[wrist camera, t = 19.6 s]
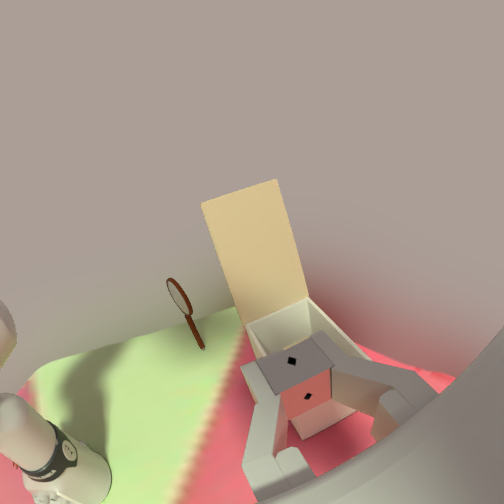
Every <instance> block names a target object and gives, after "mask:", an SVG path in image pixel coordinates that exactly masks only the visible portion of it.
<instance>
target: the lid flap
mask: <svg viewBox="0 0 504 504" xmlns="http://www.w3.org/2000/svg"><path fill="white" fill-rule="evenodd" d="M200 205H201V208H202V211H203V214H204V217H205V220H206V223H207V226H208V229H209V232H210V235H211V238H212V241H213V244H214V247H215V250H216V252H217V255H218V258H219V261H220V264H221V267H222V270H223V272H224V275H225V278H226V281H227V284H228V286H229V289H230V292H231V295H232V298H233V300H234V303H235V306H236V308H237V311H238V314H239V317H240V319H241V322H242V324H243V325H244V324H246V323H249V322H251V321H254V320H256V319H258V318H261V317H263V316H265V315H268V314H270V313H272V312H275V311H277V310H279V309H281V308H284V307H286V306H288V305H290V304H293V303H295V302H297V301H299V300H302V299H304V298H306V297H308V296H309V294H308V290H307V286H306V282H305V278H304V274H303V270H302V267H301V263H300V259H299V256H298V252H297V248H296V245H295V241H294V237H293V234H292V230H291V227H290V223H289V220H288V216H287V213H286V209H285V206H284V202H283V199H282V196H281V192H280V189H279V186H278V182H277V179H274V180H270V181H267V182H264V183H261V184H258V185H254V186H251V187H248V188H245V189H242V190H239V191H235V192H233V193H229V194H226V195H223V196H220V197H217V198H214V199H211V200H209V201H206V202H203V203H200Z"/></svg>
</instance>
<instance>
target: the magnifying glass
mask: <svg viewBox="0 0 504 504" xmlns="http://www.w3.org/2000/svg"><path fill="white" fill-rule="evenodd" d="M166 283H167V287H168V290H169V292H170V294H171V296H172V298H173V300H174V301H175V303H176V304H177V306H178V307H179V308H180V310H181V311H182V312H183V313H184V314H185V318H186V320H187V322H188V324H189V326H190V329H191V331H192V333H193V335H194V337H195V339H196V341H197V343H198V345H199V347H200V349H202V350H205V348H204V347H205V346H204V344H203V342H202V339H201V337H200V335H199V333H198V331H197V329H196V327H195V324H194V322H193V320H192V318H191V316H190V315H192V313H193V309H192V306H191V303H190V301H189V299H188V297H187V295H186V294H185V292H184V291H183V290H182V288H181V286H180V285H179V284H178V283H177V282H176V281H175V280H174V279H173V278H168V279H167V281H166Z"/></svg>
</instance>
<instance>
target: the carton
mask: <svg viewBox="0 0 504 504" xmlns="http://www.w3.org/2000/svg"><path fill="white" fill-rule="evenodd" d="M245 327H246V330H247V333H248V336H249V339H250V342H251V345H252V348H253V351H254V354H255V357H256V360H257V359H259V358H262V357H264V356H267V355H269V354H272V353H274V352H277V351H279V350H281V349H282V348H285V347H287V346H289V345H291V344H293V343H295V342H297V341H299V340H301V339H303V338H305V337H308V336H310V335H312V334H314V333H316V332H318V331H320V330H322V331H324V332H325V333H326V334H327V335H328V336H329V337H330V338H331V339H332V340H333V342H334V343H335V344H336V345H337V346H338V347H339V348H340V349H341V350H342V351H343V352H344V353H345V354H346V355H347V356H348V357H349V358H350V357H352V356H354V357H358V358H362V359H365V360H369V361H372V360H371V359H370V358H369V357H368V356H367V355H366V354H365V353H364V352H363V351H362V350H361V349H360V348H359V347H358V346H357V345H356V344H355V343H354V342H353V341H352V340H351V339H350V338H349V337H348V336H347V335H346V334H345V333H344V332H343V331H342V330H341V329H340V328H339V327H338V326H337V325H336V324H335V323H334V322H333V321H332V320H331V319H330V318H329V317H328V316H327V315H326V314H325V313H324V312H323V311H322V310H321V309H320V308H319V307H318V306H317V305H316V304H315V303H314V302H313V301H312V300H311V299H310V298H309V297H306V298H304V299H302V300H300V301H298V302H295V303H293V304H291V305H289V306H287V307H284V308H282V309H280V310H277V311H275V312H273V313H271V314H268V315H266V316H264V317H261V318H259V319H257V320H254V321H252V322H249V323H247V324H245ZM356 411H357V410H355V409H352V408H350V407H348V406H345V405H343V404H340V403H338V402H336V401H333V400H332V399H330V400H328V401H326V402H324V403H322V404H320V405H318V406H316V407H314V408H312V409H310V410H308V411H306V412H305V413H303V414H301V415H299V416H297V417H295V418H293V419H291V420H290V421H291V422H292V424H293V426H294V427H295V429H296V431H297V432H298V434H299V436H300V437H301V439H302V440H305V439H307V438H309V437H311V436H313V435H315V434H317V433H319V432H321V431H322V430H324V429H326V428H328V427H330V426H332V425H333V424H335V423H337V422H339V421H341V420H342V419H344V418H346V417H347V416H349V415H351V414H353V413H354V412H356Z"/></svg>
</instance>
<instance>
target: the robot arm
mask: <svg viewBox="0 0 504 504" xmlns="http://www.w3.org/2000/svg"><path fill="white" fill-rule="evenodd" d="M16 344H17V333H16V328H15V324H14V320H13V318H12V316H11V314H10V312H9V310H8V309H7V307H6V306H5V305H4V303H3V302H2V301H1V300H0V369H1V368H2V367H3V366H4V364H5V362H6V361H7V359H8V358H9V356H10V354H11V353H12V351H13V349H14V348H15V346H16ZM241 370H242V373H243V375H244V378H245V380H246V383H247V385H248V388H249V390H250V392H251V395H252V397H253V399H254V401H255V403H256V405H255V406H254V411H253V415H252V420H251V425H250V429H249V434H248V439H247V443H246V448H245V452H244V457H243V461H242V465H241V466H242V468H243V471H244V473H245V475H246V477H247V480H248V482H249V484H250V486H251V488H252V490H253V493H254V495H255V497H256V499H257V501H258V503H255V504H504V326H503V328H502V329H501V330H500V331H499V333H498V334H497V335H496V336H495V337H494V339H493V340H492V341H491V342H490V343H489V344H488V346H487V347H486V348H485V349H484V350H483V351H482V352H481V353H480V355H479V356H478V357H477V358H476V359H475V360H474V361H473V362H472V363H471V364H470V365H469V366H468V367H467V368H466V369H465V370H464V371H463V372H462V373H461V374H460V375H459V376H458V377H457V378H456V379H455V380H454V381H453V382H452V383H451V384H450V385H449V386H448V387H447V388H446V389H444V390H443V391H442V392H441V393H440V394H438V393H437V392H436V391H435V390H434V389H433V388H432V387H431V386H430V385H429V384H428V383H426V382H425V381H424V380H423V379H422V378H421V377H420V376H419V375H418V374H417V373H416V372H415V371H412V370H407V369H403V368H398V367H394V366H390V365H386V364H381V363H377V362H373V361H369V360H365V359H362V358H358V357H354V356H352V357H350V358H349V357H348V356H347V355H346V354H345V353H344V352H343V351H342V350H341V349H340V348H339V347H338V346H337V345H336V344H335V343H334V342H333V340H332V339H331V338H330V337H329V336H328V335H327V334H326V333H325V332H324V331H322V330H320V331H318V332H316V333H314V334H312V335H310V336H308V337H305V338H303V339H301V340H299V341H297V342H295V343H293V344H291V345H289V346H287V347H285V348H282V349H281V350H279V351H277V352H274V353H272V354H269V355H267V356H264V357H262V358H259V359H257V360H255V361H252V362H250V363H247V364H245V365H242V366H241ZM330 399H332V400H333V401H336V402H338V403H340V404H343V405H345V406H348V407H350V408H352V409H355V410H357V411H360V412H362V413H365V414H367V415H370V416H373V417H375V418H374V422H373V426H372V430H371V433H370V434H371V435H372V436H373V437H374V439H375V440H376V441H377V443H375V444H374V445H372V446H370V447H369V448H367V449H366V450H364V451H363V452H361V453H359V454H358V455H356V456H354V457H353V458H351V459H349V460H348V461H346V462H344V463H342V464H341V465H339V466H337V467H335V468H333V469H332V470H330V471H328V472H326V473H324V474H322V475H320V476H318V477H316V476H315V474H314V473H313V471H312V470H311V468H310V466H309V465H308V463H307V462H306V460H305V459H304V457H303V455H302V454H301V452H300V451H299V449H298V448H297V447H289V448H287V449H286V443H287V432H288V421H289V420H291V419H293V418H295V417H297V416H299V415H301V414H303V413H305V412H306V411H308V410H310V409H312V408H314V407H316V406H318V405H320V404H322V403H324V402H326V401H328V400H330ZM0 453H2V454H3V455H5V456H6V457H7V458H9V459H10V460H12V461H13V467H14V463H15V467H16V469H17V467H18V466H19V467H20V469H21V470H22V478H23V483H24V486H25V488H26V489H27V490H28V491H29V492H31V493H32V496H33V499H34V502H35V504H100V503H101V502H102V501H103V500H104V499H105V497H106V496H107V494H108V492H109V489H110V485H111V472H110V469H109V466H108V464H107V462H106V461H105V459H104V458H103V457H102V456H100V455H99V454H97V453H95V452H93V451H92V450H90V448H89V447H88V446H87V445H86V444H85V443H84V442H82V441H79V442H78V441H76V440H75V439H74V438H72V437H71V436H69V435H68V434H66V433H65V432H63V431H61V430H60V429H59V428H58V427H57V426H56V425H54V424H52V423H51V422H50V421H48V420H45V419H44V418H43V417H42V416H41V415H40V414H39V413H38V412H37V411H36V410H35V409H34V408H33V407H32V406H31V405H30V404H29V403H28V402H27V401H26V400H25V399H23V398H22V397H20V396H18V395H15V394H11V393H0Z"/></svg>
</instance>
